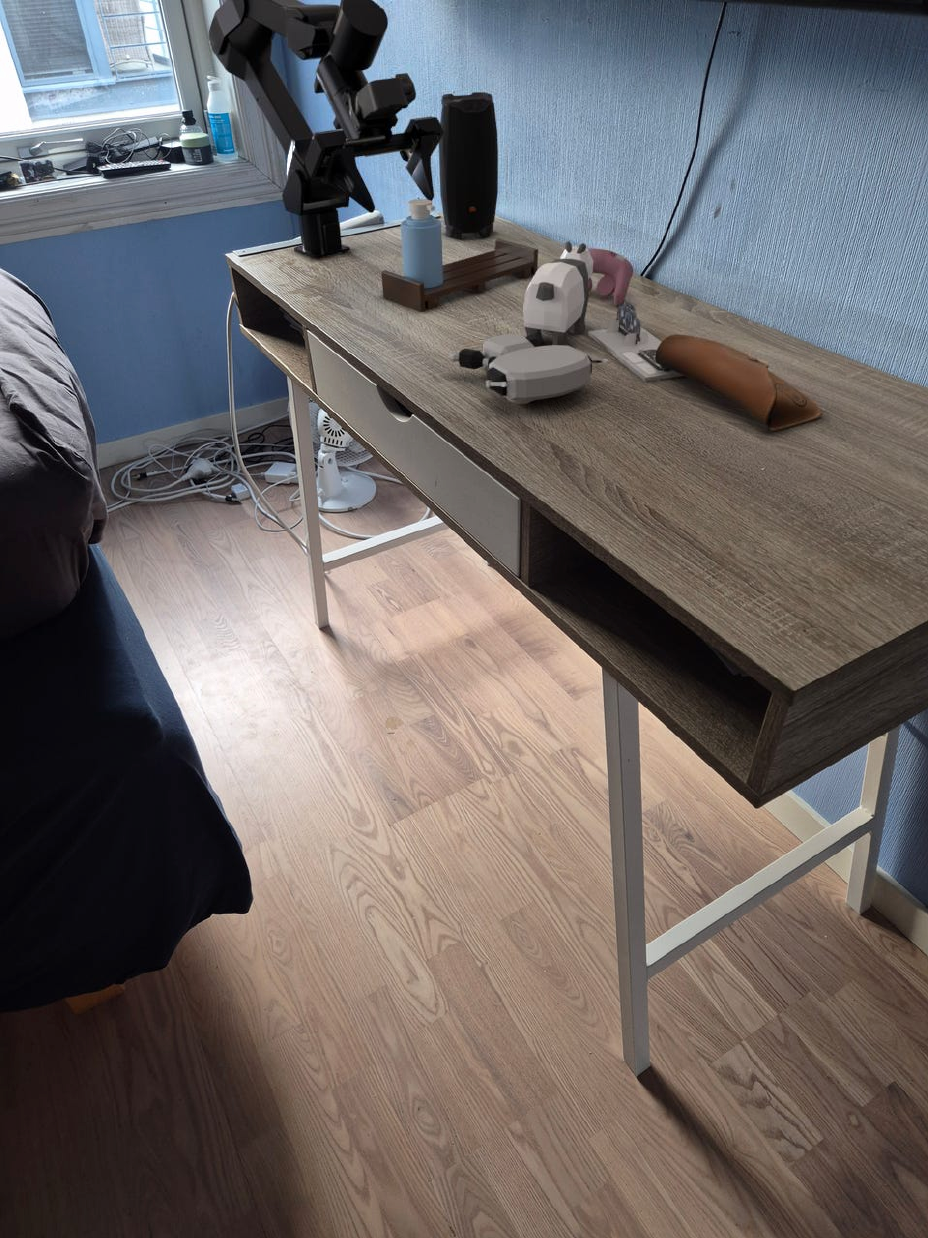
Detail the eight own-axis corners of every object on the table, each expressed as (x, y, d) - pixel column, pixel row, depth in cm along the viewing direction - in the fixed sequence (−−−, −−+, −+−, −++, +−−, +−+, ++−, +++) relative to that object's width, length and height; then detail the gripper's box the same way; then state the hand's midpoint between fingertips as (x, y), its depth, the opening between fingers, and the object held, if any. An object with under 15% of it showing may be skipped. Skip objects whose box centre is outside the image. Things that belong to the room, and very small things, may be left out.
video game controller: (628, 310, 116) (639, 255, 115) (621, 305, 112) (632, 247, 111) (558, 301, 120) (569, 248, 118) (549, 295, 116) (559, 240, 114)
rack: (382, 297, 118) (380, 271, 116) (498, 262, 129) (498, 237, 127) (421, 311, 113) (419, 284, 111) (537, 274, 125) (538, 248, 122)
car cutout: (588, 334, 106) (591, 297, 103) (637, 327, 107) (641, 290, 105) (645, 381, 95) (649, 341, 92) (699, 373, 96) (705, 333, 93)
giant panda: (562, 355, 101) (567, 270, 95) (518, 348, 102) (520, 264, 97) (601, 315, 111) (607, 235, 105) (560, 309, 113) (564, 231, 107)
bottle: (396, 282, 116) (391, 201, 110) (425, 273, 119) (422, 194, 113) (421, 291, 113) (417, 208, 107) (451, 282, 116) (449, 201, 110)
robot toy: (443, 380, 98) (508, 423, 86) (440, 340, 95) (507, 378, 84) (537, 360, 102) (611, 398, 91) (537, 320, 99) (613, 354, 88)
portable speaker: (489, 242, 138) (489, 99, 126) (434, 238, 140) (428, 98, 128) (503, 227, 144) (504, 91, 132) (450, 224, 147) (446, 90, 134)
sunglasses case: (830, 411, 87) (820, 363, 82) (776, 457, 87) (763, 412, 82) (712, 348, 99) (696, 303, 94) (665, 389, 99) (647, 346, 94)
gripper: (303, 55, 102) (360, 173, 102) (433, 43, 111) (486, 152, 110) (282, 123, 112) (334, 231, 112) (402, 107, 121) (451, 207, 120)
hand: (403, 204), depth 113 cm, fingers open, 9 cm apart
